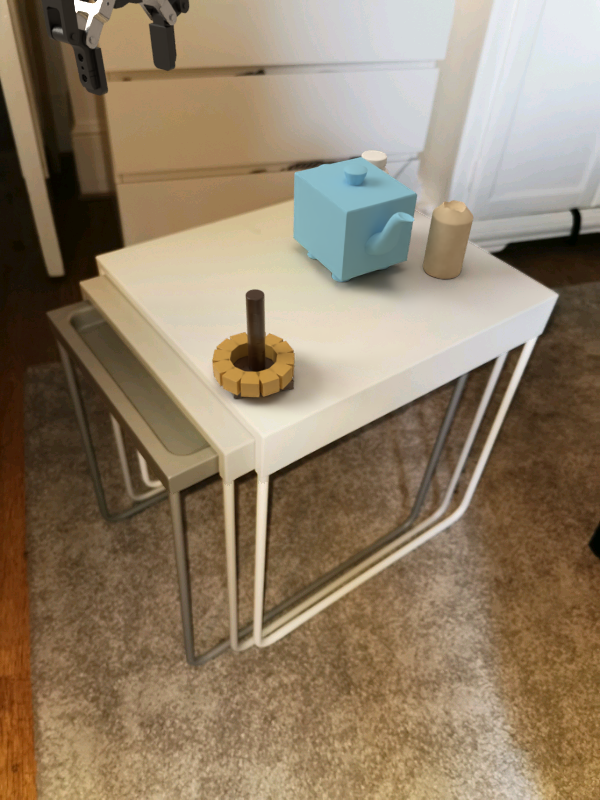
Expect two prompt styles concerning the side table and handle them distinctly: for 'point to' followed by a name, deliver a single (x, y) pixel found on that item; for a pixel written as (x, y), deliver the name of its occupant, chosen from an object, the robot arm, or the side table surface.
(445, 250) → the candle
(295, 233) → the teapot
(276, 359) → the ring
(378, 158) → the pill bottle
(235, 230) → the side table surface
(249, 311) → the post
